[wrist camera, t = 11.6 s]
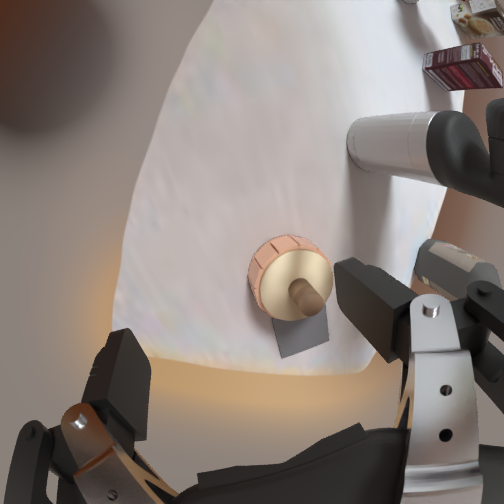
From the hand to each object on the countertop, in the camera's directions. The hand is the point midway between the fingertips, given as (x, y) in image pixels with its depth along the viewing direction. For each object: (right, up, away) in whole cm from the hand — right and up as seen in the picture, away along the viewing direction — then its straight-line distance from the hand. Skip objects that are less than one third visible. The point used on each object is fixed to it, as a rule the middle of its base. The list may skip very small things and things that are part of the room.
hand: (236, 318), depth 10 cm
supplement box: (+38, +40, +27) cm, 61 cm away
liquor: (+39, +1, +41) cm, 57 cm away
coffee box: (+55, +62, +23) cm, 86 cm away
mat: (+10, -12, +39) cm, 42 cm away
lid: (+7, -2, +30) cm, 31 cm away
